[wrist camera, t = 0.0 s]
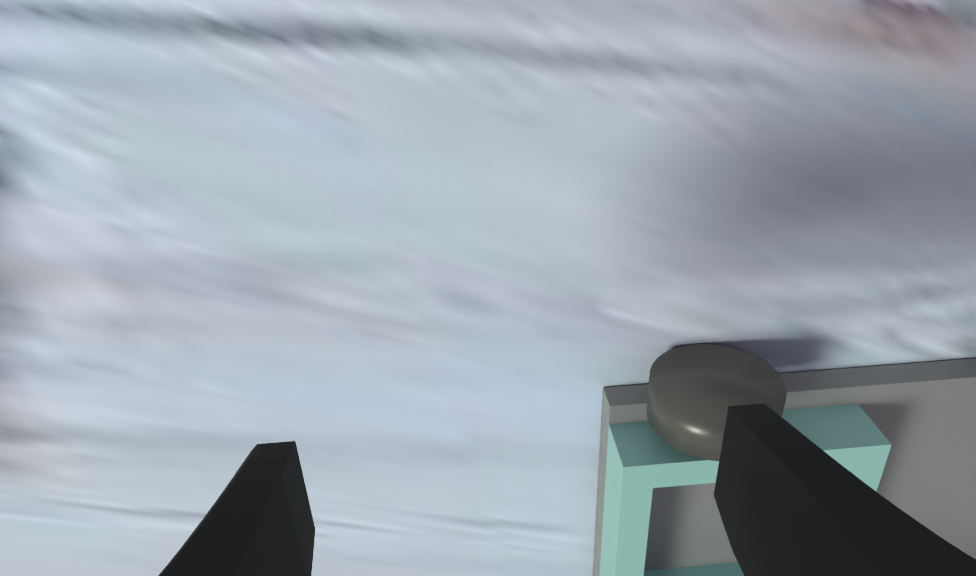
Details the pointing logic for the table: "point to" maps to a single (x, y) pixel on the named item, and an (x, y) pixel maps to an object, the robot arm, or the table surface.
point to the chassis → (806, 406)
